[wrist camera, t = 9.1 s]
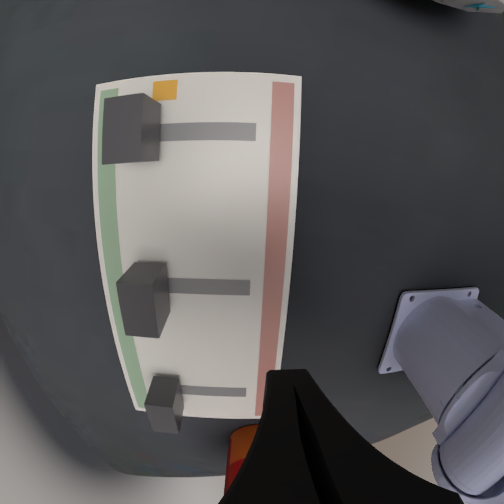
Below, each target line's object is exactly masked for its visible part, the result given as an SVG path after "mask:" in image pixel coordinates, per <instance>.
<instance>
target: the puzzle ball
mask: <svg viewBox="0 0 504 504" xmlns="http://www.w3.org/2000/svg"><path fill="white" fill-rule="evenodd" d="M433 1H435V2H437V3H441V4H444V5H448V6H451V7H454V8H458V9H461V10H465V11H468V12H490V13H502V12H504V0H433Z"/></svg>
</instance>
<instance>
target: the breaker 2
mask: <svg viewBox="0 0 504 504" xmlns="http://www.w3.org/2000/svg"><path fill="white" fill-rule="evenodd" d="M116 287H117V294H118V300H119V305H120V311H121V316H122V321H123V326H124V331H125V335H127V336H137V337H147V338H160V336H161V333H162V331H163V328H164V326H165V323H166V321H167V318H168V316H169V314H170V301H169V290H168V278H167V265H166V263H150V262H134V263H133V264H132V265H131V267H130V268H129V269H128V270H127V271H126V272H125V273H124V274H123V275H122V276H121V277H120V278H119V280H118V281H117V282H116Z"/></svg>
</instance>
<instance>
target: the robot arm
mask: <svg viewBox="0 0 504 504" xmlns="http://www.w3.org/2000/svg"><path fill="white" fill-rule="evenodd" d="M478 294H479V289H478V288H477V287H468V288H454V289H438V290H420V291H405V292H403V293H402V294H401V296H400V298H399V302H398V306H397V310H396V313H395V317H394V320H393V324H392V327H391V330H390V334H389V337H388V340H387V343H386V346H385V349H384V352H383V355H382V358H381V361H380V364H379V367H378V371H379V373H380V374H385V373H391V372H397V371H402V370H403V371H404V372H405V374H406V375H407V377H408V378H409V380H410V381H411V383H412V384H413V386H414V388H415V389H416V391H417V392H418V394H419V395H420V397H421V398H422V400H423V401H424V403H425V405H426V406H427V408H428V409H429V411H430V413H431V414H432V416H433V417H434V419H435V421H436V422H437V424H438V427H437V428H436V430H435V431H434V432H433V436H434V437H435V439H436V441H437V445H436V446H435V447H434V449H433V452H432V457H431V462H432V471H433V475H434V478H435V480H436V482H437V484H438V486H437V485H435V484H432V483H430V482H428V481H426V480H424V479H422V478H420V477H418V476H416V475H414V474H412V473H411V472H409V471H407V470H406V469H404V468H402V467H401V466H399V465H398V464H396V463H394V462H393V461H391V460H390V459H389V458H387V457H386V456H385V455H383V454H382V453H381V452H379V451H378V450H377V449H375V447H373V446H372V445H371V444H370V443H369V442H367V441H366V440H365V439H364V438H363V437H362V436H361V435H360V434H359V433H358V432H357V431H356V430H355V429H354V428H353V427H352V426H351V425H350V424H349V423H348V422H347V421H346V420H345V419H344V418H343V416H342V415H341V414H340V413H339V412H338V411H337V409H336V408H335V407H334V406H333V405H332V403H331V402H330V401H329V400H328V398H327V397H326V396H325V394H324V393H323V392H322V391H321V389H320V388H319V386H318V385H317V384H316V382H315V381H314V379H313V378H312V376H311V375H310V374H309V372H308V371H307V370H306V369H294V370H269V371H268V372H266V381H265V390H264V399H263V411H262V415H261V418H260V422H259V424H258V427H257V430H256V433H255V436H254V439H253V441H252V443H251V446H250V448H249V451H248V453H247V455H246V457H245V459H244V461H243V463H242V465H241V467H240V469H239V471H238V473H237V475H236V476H235V478H234V480H233V482H232V483H231V485H230V487H229V488H228V490H227V492H226V493H225V495H224V496H223V498H222V499H221V500H220V502H219V503H218V504H464V503H463V502H465V503H468V504H504V320H503V319H502V318H501V317H500V316H498V315H497V314H496V313H495V312H493V311H492V310H491V309H489V308H488V307H487V306H486V305H484V304H483V303H482V302H480V301H479V300H478V299H477V297H478ZM411 296H412V298H411V299H410V297H411ZM388 367H389V368H388Z"/></svg>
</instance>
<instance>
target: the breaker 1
mask: <svg viewBox="0 0 504 504" xmlns="http://www.w3.org/2000/svg"><path fill="white" fill-rule="evenodd" d="M160 114H161V104H160V103H159V102H157V101H156V100H154V99H152V98H151V97H149V96H148V95H146V94H145V93H138V94H130V95H123V96H116V97H110V98H104V109H103V127H102V165H106V164H119V163H133V162H150V161H159V139H160Z"/></svg>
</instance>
